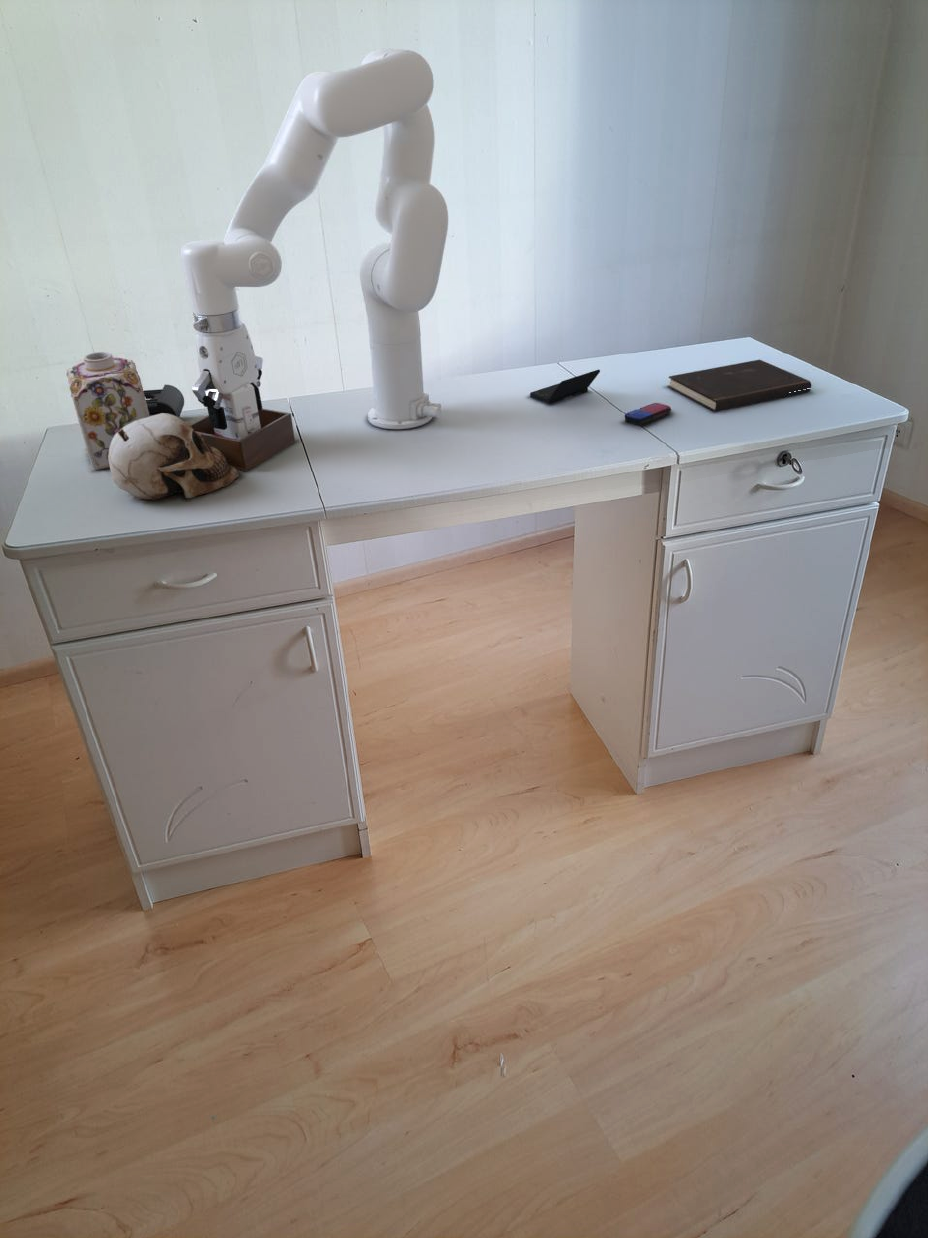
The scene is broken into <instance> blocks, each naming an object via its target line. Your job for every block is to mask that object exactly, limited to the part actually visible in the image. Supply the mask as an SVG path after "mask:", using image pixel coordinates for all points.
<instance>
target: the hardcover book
mask: <svg viewBox="0 0 928 1238" xmlns="http://www.w3.org/2000/svg"><path fill="white" fill-rule="evenodd" d="M668 379H669V380H670V381H669V385H667V388H668V389H670V390H672V391H674V392H675V393H678V394H680V395H682V396H683V397H685V398H687V399H689V400H691V401H693V402H695V403H697V404H698V405H700V406H702V407H704V408H705V409H708V410H709V411H711V412H719V411H723V410H728V409H733V408H738V407H744V406H748V405H753V404H757V403H762V402H768V401H771V400H773V401H774V400H777V399H778V400H779V399H782V398H787V397H792V396H796V395H801V394H807V393H810V392H811V389H812V382H811V381H810V380H809V379H806V378H804V377H802V376H800V375H797V374H794V373H792V372H790V371H787V370H785V369H783V368H780V367H778V366H776V365H773V364H771V363H769V362H767V361H765V360H762V359H754V360H750V361H745V362H739V363H733V364H727V365H723V366H718V367H712V368H706V369H702V370H701V369H700V370H695V371H691V372H685V373H684V372H683V373H679V374H674V375H669V376H668ZM807 388H811V389H807ZM803 389H806V390H803ZM798 390H801V391H798ZM794 391H796V392H794ZM789 392H791V393H789Z"/></svg>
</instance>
